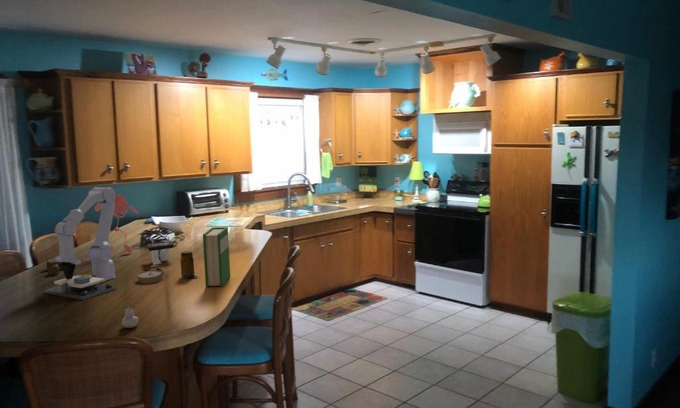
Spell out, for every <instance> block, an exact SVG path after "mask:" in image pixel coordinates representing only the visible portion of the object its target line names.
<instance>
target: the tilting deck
mask: <svg viewBox="0 0 680 408" xmlns="http://www.w3.org/2000/svg"><path fill="white" fill-rule="evenodd" d="M91 275H92V274H84V273H83V274H77V275H73V278H72V279H66V278H61V279H59V280H55V281H53V284H54V285H57V286H59V285H63V283H68V286H71V287H78V288H83V287H86V286H90V285H93V284H97V283H100V284H101V283H102V282H103V283H104V282H106V281H105V279H104V278H96V277H92V276H91Z"/></svg>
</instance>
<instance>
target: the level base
mask: <svg viewBox="0 0 680 408" xmlns="http://www.w3.org/2000/svg"><path fill="white" fill-rule="evenodd" d="M90 275H91V276H92V277H96V275H93V274H90ZM116 290H117V286H116V285H112V283H101V282H100V283H97V284H93V285H90V286H86V287H83V288H78V287H71V286H68V283H63V285H56V286H53V287H49V288H46V289H44V293H45V294H49V295H52V296H53V295H54V296H58V297H59V296H60V297H64V298H68V299H69V298H70V299H74V300H80V301H83V300H87V299H91V298H93V297H97V296H100V295H102V294H106V293H108V292H112V291H116Z"/></svg>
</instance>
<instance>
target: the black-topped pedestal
mask: <svg viewBox="0 0 680 408" xmlns="http://www.w3.org/2000/svg"><path fill="white" fill-rule="evenodd" d="M146 245H147V247H146V248H147V250H148V251H150V252H151V262H152V265H153V266H155V265H160V264H162V262H166V261H167V262H168V261H170V252H169V251H170V250H169V249H173V248H175V244H174V242H173V241H170V237H169V236H167V241H164V239H163V238H162V239H161V238H160V239H157V240H156V239H151V243H147V244H146Z"/></svg>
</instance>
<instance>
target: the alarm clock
mask: <svg viewBox="0 0 680 408" xmlns="http://www.w3.org/2000/svg"><path fill="white" fill-rule="evenodd" d="M164 273H165V271H164V269H162V268H161V267H157V268H156V269H150V268H144V269H143V270H142V271H140V272H138V273H137V274H136V277H137V282H138V284H144V285H145V284H154V283H155V284H156V283H159V282H161V281H162V280H163V276H164Z"/></svg>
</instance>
